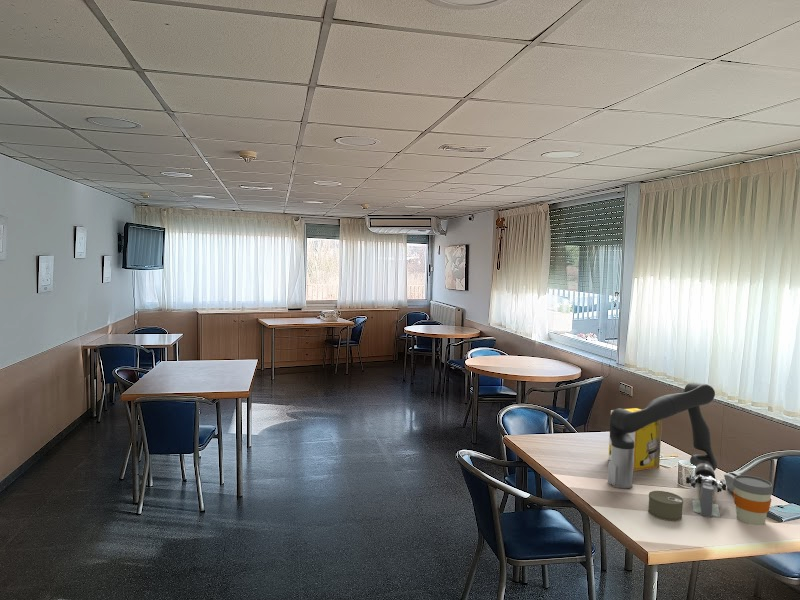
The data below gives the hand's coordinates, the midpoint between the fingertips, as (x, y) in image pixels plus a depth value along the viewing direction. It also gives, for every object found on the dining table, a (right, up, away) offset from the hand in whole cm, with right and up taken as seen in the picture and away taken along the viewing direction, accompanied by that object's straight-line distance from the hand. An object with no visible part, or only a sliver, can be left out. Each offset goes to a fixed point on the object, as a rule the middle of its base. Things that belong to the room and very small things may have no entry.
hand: (706, 487), depth 210 cm
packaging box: (-8, -5, +48) cm, 49 cm away
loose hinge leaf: (0, -7, +1) cm, 7 cm away
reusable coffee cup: (+11, -9, -10) cm, 17 cm away
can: (-20, -8, -7) cm, 23 cm away
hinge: (+22, -8, +12) cm, 26 cm away
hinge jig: (-2, -8, -2) cm, 8 cm away
